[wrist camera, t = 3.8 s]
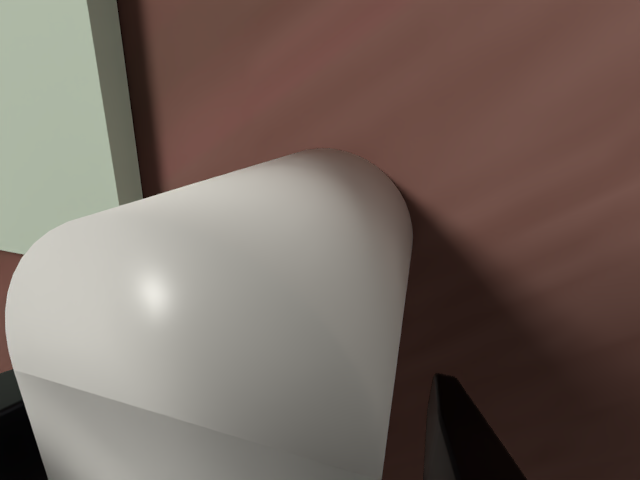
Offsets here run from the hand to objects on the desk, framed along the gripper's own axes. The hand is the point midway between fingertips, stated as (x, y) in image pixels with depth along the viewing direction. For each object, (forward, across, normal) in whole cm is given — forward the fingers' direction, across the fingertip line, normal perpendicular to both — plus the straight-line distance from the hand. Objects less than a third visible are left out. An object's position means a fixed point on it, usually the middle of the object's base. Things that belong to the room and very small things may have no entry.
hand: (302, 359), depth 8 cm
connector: (+1, 0, +1) cm, 2 cm away
